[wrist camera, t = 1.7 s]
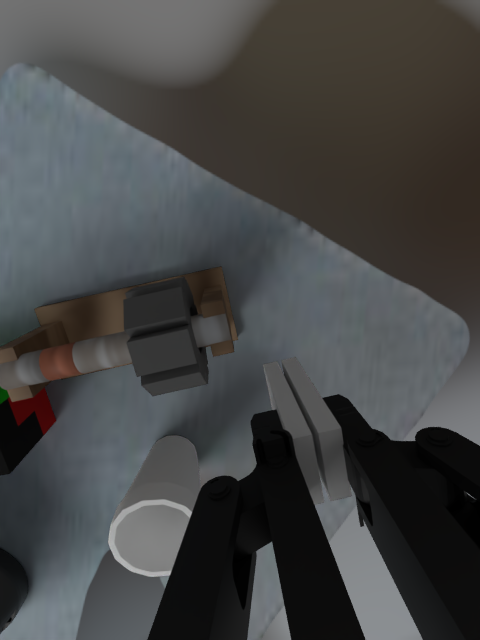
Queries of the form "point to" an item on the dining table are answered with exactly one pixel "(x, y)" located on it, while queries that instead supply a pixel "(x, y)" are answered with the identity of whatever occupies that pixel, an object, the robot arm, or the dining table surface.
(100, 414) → the dining table surface
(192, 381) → the dark gray notched block
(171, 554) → the foam cup
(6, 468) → the puzzle toy
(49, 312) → the pipe rig
